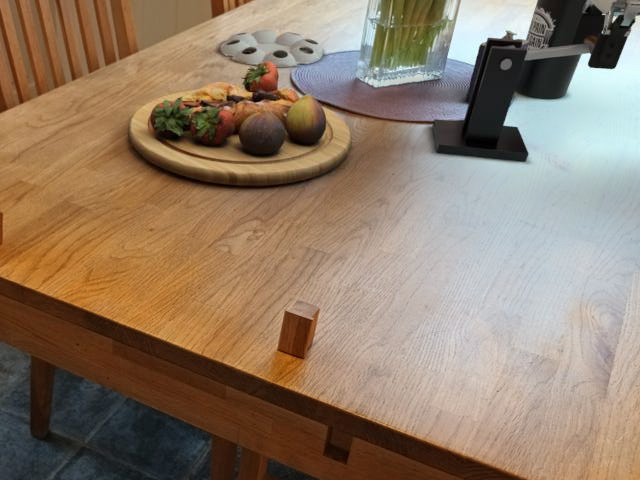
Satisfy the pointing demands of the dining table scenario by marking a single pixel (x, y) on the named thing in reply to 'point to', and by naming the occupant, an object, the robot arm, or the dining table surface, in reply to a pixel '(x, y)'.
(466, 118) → the black stand
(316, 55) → the round palette
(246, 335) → the dining table surface
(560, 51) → the lever
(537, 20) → the water bottle
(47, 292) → the dining table surface
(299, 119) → the wooden plate
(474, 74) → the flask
